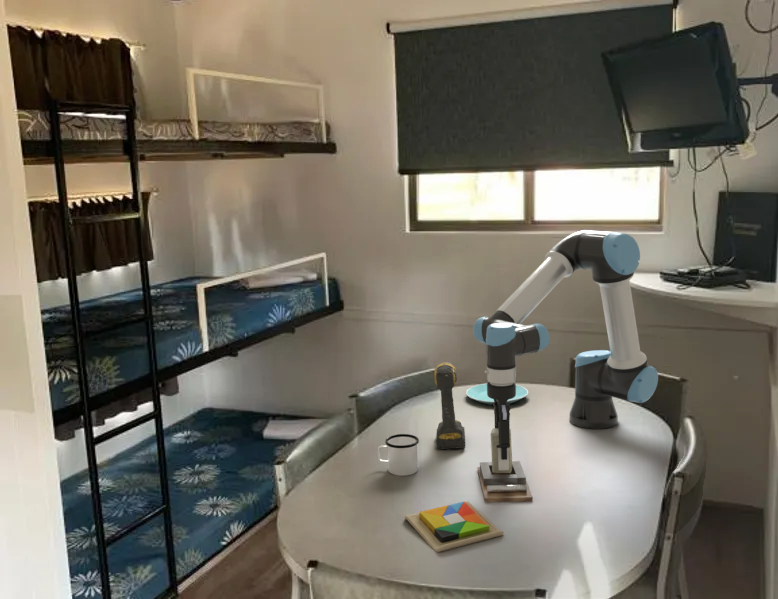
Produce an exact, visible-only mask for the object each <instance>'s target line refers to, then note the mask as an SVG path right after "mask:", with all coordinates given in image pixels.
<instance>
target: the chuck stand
mask: <svg viewBox="0 0 778 599" xmlns="http://www.w3.org/2000/svg"><path fill="white" fill-rule="evenodd" d="M477 475H478V478H479V481H480V487H481V491H482V494H483V500H484V503H498V502H499V503H500V502H501V503H502V502H504V503H505V502H533V494H532V491H531V490H530V486H529V484H528V481H527V476H526V474H525V471H524V469H523V467H522V464H521V461H520V460H518V461H516V460H515V461H513V460H512V471H511V473H495V472H492V461H486V462H485V461H483V462H479V466H478V467H477ZM489 485H527V492H497V493H488V492H487V486H489Z"/></svg>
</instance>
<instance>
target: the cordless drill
mask: <svg viewBox="0 0 778 599" xmlns="http://www.w3.org/2000/svg"><path fill="white" fill-rule="evenodd" d="M433 376H434V383H435V385H436V387H437V388H438V389H439V391H440V397H441V398H440V401H441V403H440V404H441V418H442V421H441V422H439V423H438V425H437V428H436V438H435V440H436V441H435V444H436V449H437V450H445V449H460V448H461V449H463V448H466V435H465V434H466V432H465V431H466V430H465V426H463V425H462V422H461V421H460V420H458V419H456V415H455V414H456V413H455V405H454V404H455V403H454V398H453V396H454V395H453V388H454V387H455V384H456V382H457V381H458V378H457V369H456V367H455V365H453V363H451V362H449V361H442V362H440V363H439V364H438V365H437V366H436V367H435V368H434V372H433Z"/></svg>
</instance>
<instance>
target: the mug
mask: <svg viewBox="0 0 778 599" xmlns="http://www.w3.org/2000/svg"><path fill="white" fill-rule="evenodd" d="M419 442H420V440H419V438H418V437H417V435H416V436H415V435H413V434H409V433H408V434H407V433H406V434H405V433H400V434H399V433H398V434H393V435H390V436H388V437H386V438H385V441H384V443H385V445H384V444H383V445H379V446H378V447H377V458H378V461H379V462H381V463H386V464H387V471H388V472H389V473H390V474H392V475H394V476H399V477H400V476H401V477H404V476H410V475H413V474H415V473H417V472H418V470H419V469H418V468H419V467H418V465H419V464H418V463H419V462H418V444H419ZM381 448H383V449H387V459H381V453H380V450H381Z"/></svg>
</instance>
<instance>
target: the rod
mask: <svg viewBox="0 0 778 599" xmlns="http://www.w3.org/2000/svg"><path fill="white" fill-rule="evenodd" d="M487 492H488V493H497V492H527V485H489V486H487Z"/></svg>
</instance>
